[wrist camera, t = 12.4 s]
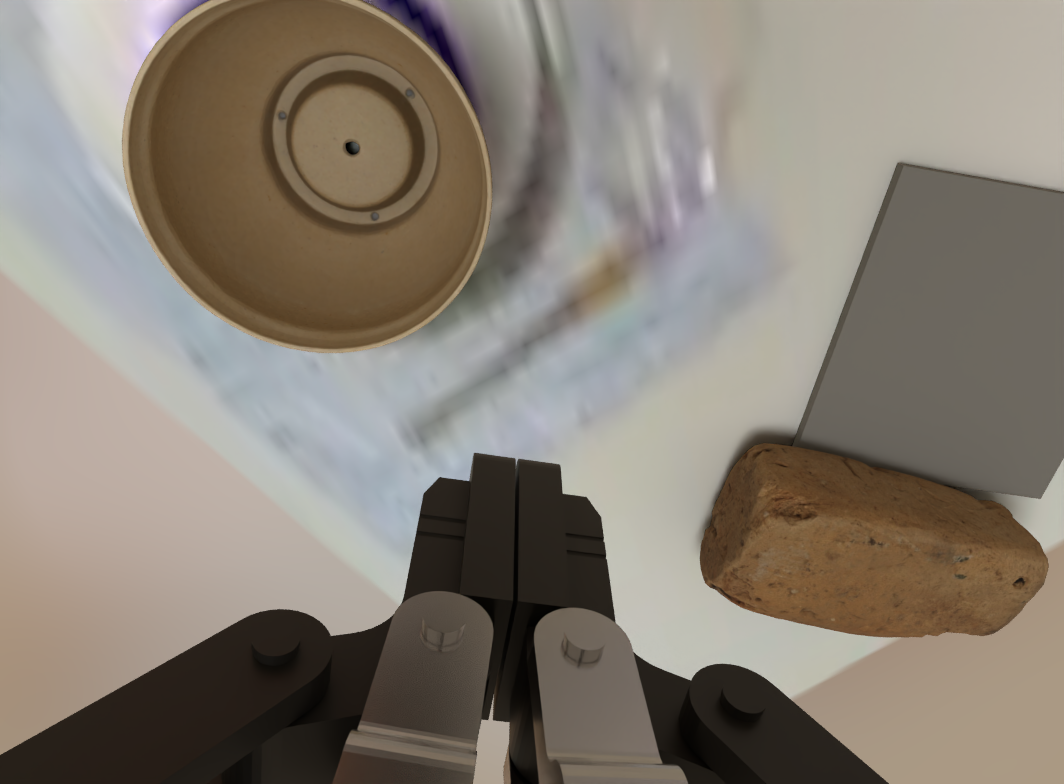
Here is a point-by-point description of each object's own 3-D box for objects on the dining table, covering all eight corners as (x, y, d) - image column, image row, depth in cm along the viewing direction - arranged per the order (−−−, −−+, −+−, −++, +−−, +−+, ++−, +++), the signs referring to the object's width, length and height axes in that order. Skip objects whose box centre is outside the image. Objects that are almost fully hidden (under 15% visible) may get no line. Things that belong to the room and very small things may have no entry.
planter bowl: (224, -62, 40) (131, -73, 31) (533, 36, 43) (535, 55, 33) (194, 237, 48) (110, 306, 38) (460, 308, 50) (444, 389, 40)
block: (775, 499, 46) (1075, 570, 49) (748, 422, 53) (1016, 488, 55) (702, 619, 52) (973, 676, 55) (685, 537, 58) (930, 592, 61)
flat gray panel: (897, 162, 46) (903, 165, 45) (1188, 214, 47) (1198, 218, 47) (788, 456, 55) (791, 463, 54) (1034, 492, 57) (1040, 498, 56)
